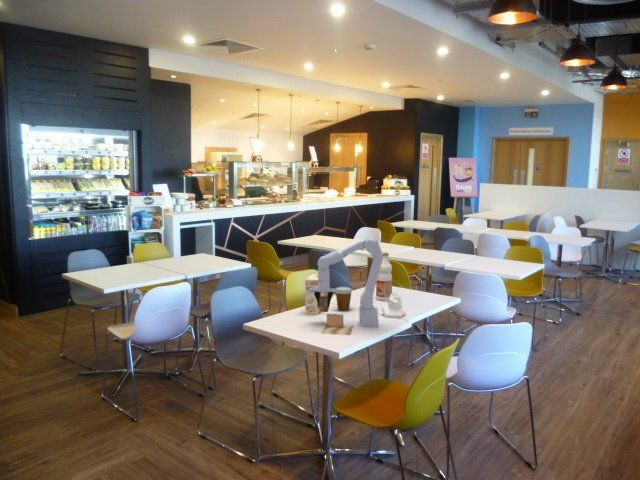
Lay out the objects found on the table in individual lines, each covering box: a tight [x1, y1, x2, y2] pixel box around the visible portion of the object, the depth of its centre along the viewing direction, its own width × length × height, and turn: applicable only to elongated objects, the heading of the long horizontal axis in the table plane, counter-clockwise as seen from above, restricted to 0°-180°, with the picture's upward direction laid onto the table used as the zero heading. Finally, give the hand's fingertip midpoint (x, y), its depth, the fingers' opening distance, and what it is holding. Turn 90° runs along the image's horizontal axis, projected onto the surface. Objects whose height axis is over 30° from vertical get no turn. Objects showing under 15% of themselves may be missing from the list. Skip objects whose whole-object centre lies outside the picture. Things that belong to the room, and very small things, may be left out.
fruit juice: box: [375, 252, 393, 302], centre depth 316 cm, size 9×9×28 cm
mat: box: [320, 324, 355, 336], centre depth 259 cm, size 14×14×1 cm
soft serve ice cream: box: [381, 290, 407, 319], centre depth 284 cm, size 12×15×14 cm
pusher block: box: [319, 295, 330, 313], centre depth 269 cm, size 4×4×7 cm
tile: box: [326, 313, 344, 327], centre depth 264 cm, size 8×2×6 cm, turn 80°
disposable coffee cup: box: [335, 286, 353, 312], centre depth 295 cm, size 10×10×12 cm
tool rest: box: [310, 328, 323, 333], centre depth 258 cm, size 5×5×1 cm
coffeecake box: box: [304, 273, 325, 316], centre depth 291 cm, size 15×7×20 cm, turn 164°
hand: (324, 306), depth 269 cm, fingers closed on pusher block, 4 cm apart
